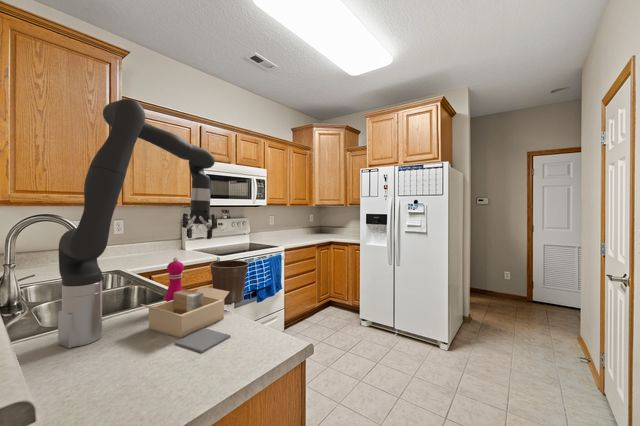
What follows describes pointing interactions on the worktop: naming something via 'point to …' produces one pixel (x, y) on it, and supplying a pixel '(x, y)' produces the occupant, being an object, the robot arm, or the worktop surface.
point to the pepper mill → (174, 279)
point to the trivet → (202, 340)
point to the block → (187, 301)
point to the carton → (188, 314)
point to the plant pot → (230, 279)
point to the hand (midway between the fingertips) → (199, 238)
